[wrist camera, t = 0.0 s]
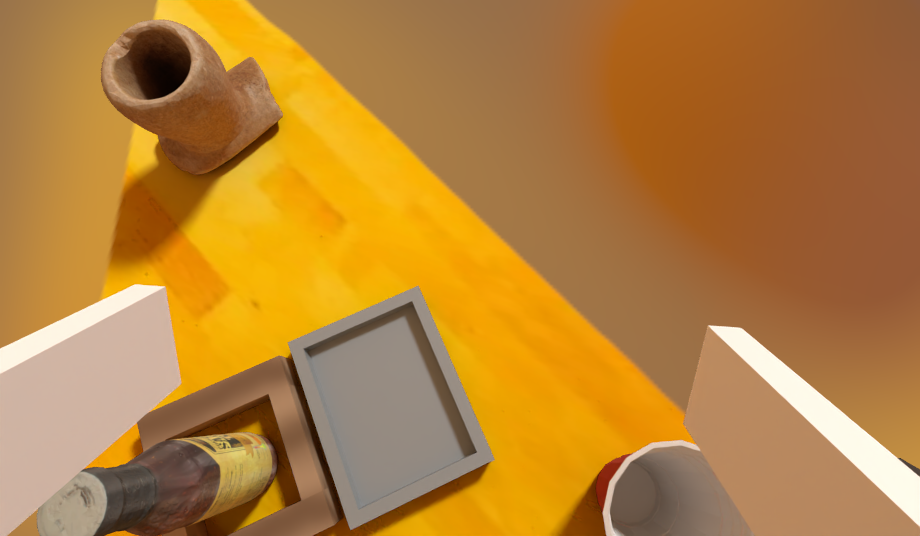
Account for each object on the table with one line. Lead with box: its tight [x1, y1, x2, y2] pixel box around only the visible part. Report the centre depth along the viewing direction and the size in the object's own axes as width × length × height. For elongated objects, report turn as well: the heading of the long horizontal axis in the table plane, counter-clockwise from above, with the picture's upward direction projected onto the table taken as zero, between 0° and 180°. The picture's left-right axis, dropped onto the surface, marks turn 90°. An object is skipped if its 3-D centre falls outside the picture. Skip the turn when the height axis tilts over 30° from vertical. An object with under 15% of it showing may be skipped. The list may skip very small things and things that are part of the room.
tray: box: [288, 286, 495, 530], centre depth 44 cm, size 18×14×2 cm
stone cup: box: [101, 20, 283, 175], centre depth 48 cm, size 15×12×15 cm
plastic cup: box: [596, 440, 755, 536], centre depth 37 cm, size 11×11×12 cm
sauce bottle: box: [37, 432, 278, 536], centre depth 34 cm, size 7×6×20 cm
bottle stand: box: [137, 356, 343, 536], centre depth 42 cm, size 16×14×3 cm
